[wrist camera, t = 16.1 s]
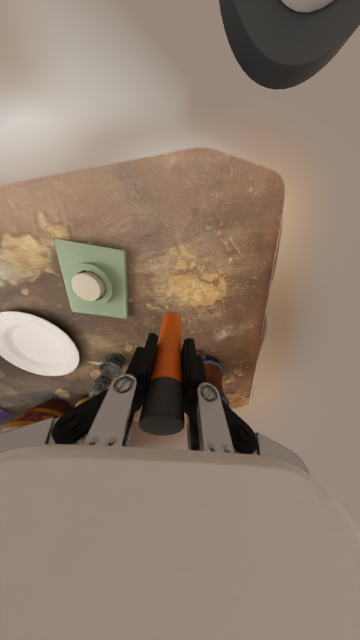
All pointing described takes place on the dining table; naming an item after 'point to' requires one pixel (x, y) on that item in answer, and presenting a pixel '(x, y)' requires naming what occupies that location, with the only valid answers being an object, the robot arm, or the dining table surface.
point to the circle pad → (88, 286)
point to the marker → (165, 383)
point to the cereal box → (3, 414)
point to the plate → (36, 344)
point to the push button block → (105, 266)
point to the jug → (38, 414)
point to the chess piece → (107, 373)
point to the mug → (214, 374)
